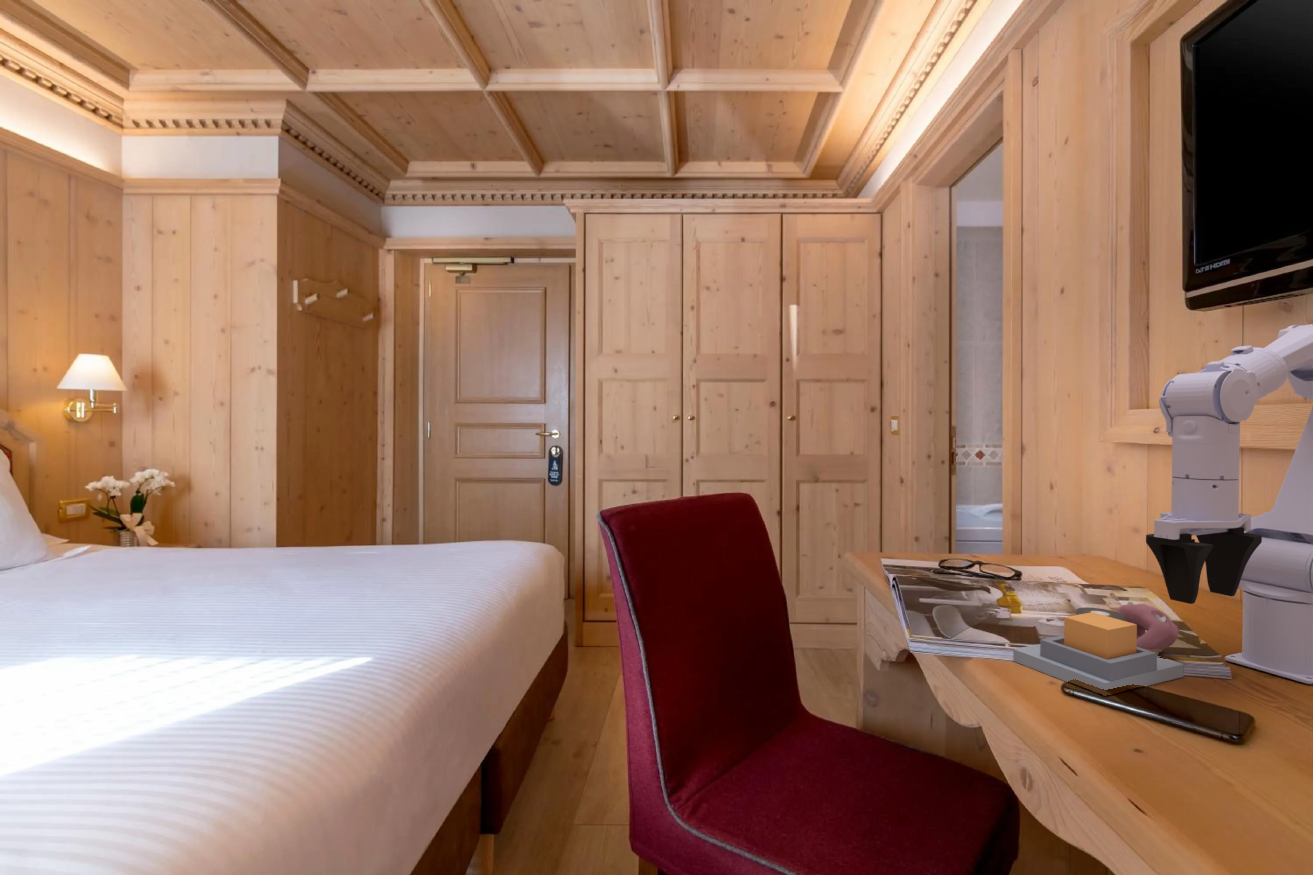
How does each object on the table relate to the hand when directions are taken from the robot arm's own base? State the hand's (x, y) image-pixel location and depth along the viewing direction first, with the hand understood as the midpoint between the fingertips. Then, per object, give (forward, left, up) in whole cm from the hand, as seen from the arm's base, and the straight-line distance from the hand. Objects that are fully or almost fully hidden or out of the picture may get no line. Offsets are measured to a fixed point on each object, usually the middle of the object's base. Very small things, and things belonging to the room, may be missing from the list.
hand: (1202, 597), depth 70 cm
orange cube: (+9, -6, -8) cm, 13 cm away
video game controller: (-5, -10, -10) cm, 15 cm away
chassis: (+7, -8, -10) cm, 14 cm away
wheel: (+2, -10, -8) cm, 13 cm away
